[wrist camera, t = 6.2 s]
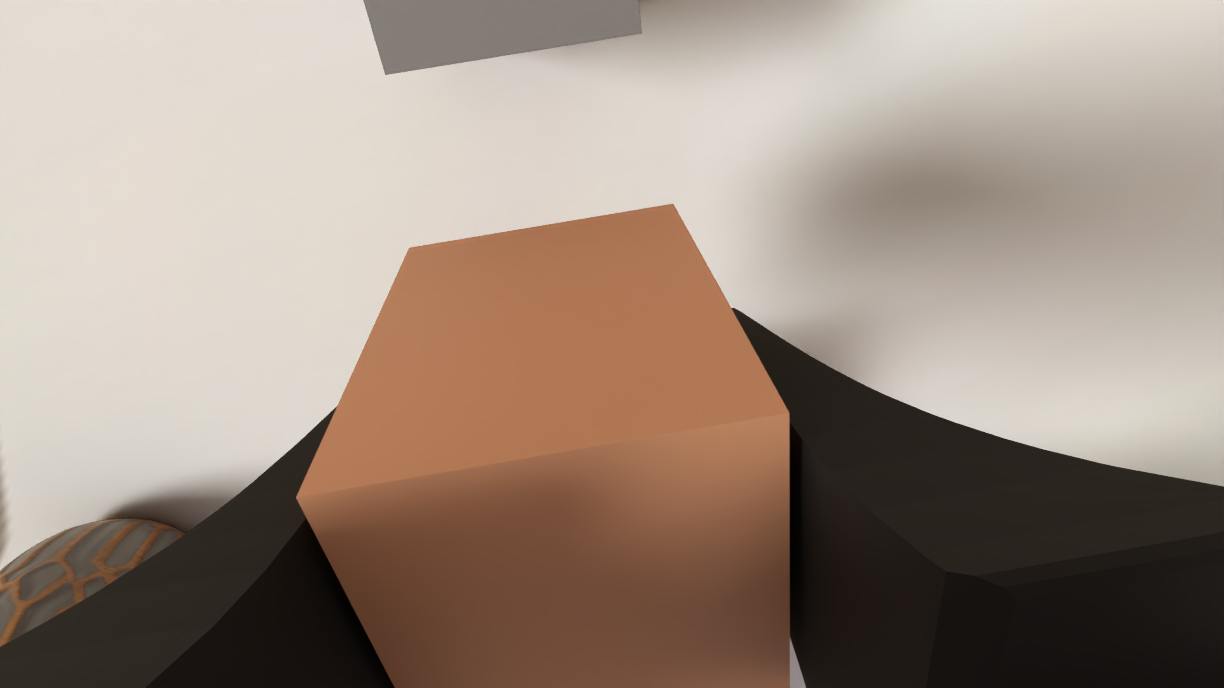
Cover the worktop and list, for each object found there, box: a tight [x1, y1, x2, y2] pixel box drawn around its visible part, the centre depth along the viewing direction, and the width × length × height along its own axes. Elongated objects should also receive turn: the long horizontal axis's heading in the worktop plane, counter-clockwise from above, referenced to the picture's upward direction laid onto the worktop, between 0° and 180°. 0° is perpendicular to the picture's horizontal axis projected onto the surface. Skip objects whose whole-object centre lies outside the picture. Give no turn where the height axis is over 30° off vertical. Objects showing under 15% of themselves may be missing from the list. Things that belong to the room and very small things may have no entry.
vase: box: [0, 519, 185, 647], centre depth 20 cm, size 7×7×9 cm
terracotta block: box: [296, 204, 790, 688], centre depth 10 cm, size 4×4×6 cm
